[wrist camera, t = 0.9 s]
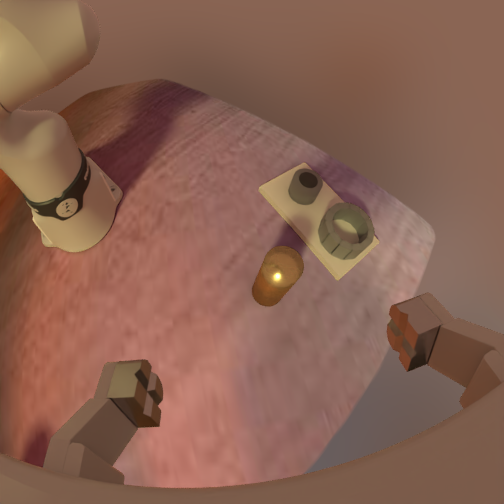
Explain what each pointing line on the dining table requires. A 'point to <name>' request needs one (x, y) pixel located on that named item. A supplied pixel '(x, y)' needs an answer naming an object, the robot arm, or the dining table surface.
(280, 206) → the fitting plate
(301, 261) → the amber cylinder
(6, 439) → the dining table surface
